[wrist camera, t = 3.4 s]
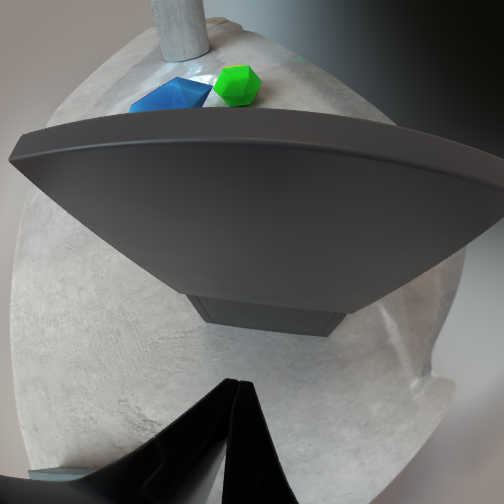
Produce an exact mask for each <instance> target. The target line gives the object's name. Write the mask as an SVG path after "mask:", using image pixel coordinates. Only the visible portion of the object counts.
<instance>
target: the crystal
mask: <svg viewBox="0 0 504 504" xmlns="http://www.w3.org/2000/svg"><path fill="white" fill-rule="evenodd" d="M212 87H213V86H211V85H208V84H204V83H200V82H196V81H192V80H188V79H183V78H179V77H176V78H174V79H172V80H171V81H169V82H167V83H166V84H164V85H162V86H161V87H159V88H157V89H156V90H154V91H152V92H151V93H149V94H148V95H146V96H145V97H143V98H142V99H140V100H139V101H137V102H136V103H134V104H133V105H131V107H130V110H129V113H133V112H142V111H153V110H165V109H180V108H202V106H203V104H204V102H205V100H206V99H207V97H208V95H209V93H210V91H211V89H212Z"/></svg>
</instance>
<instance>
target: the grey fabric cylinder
mask: <svg viewBox="0 0 504 504" xmlns="http://www.w3.org/2000/svg"><path fill="white" fill-rule="evenodd" d="M150 1H151V6H152V10H153V15H154V20H155V24H156V29H157V33H158V37H159V42H160V46H161V50H162V54H163V58H164V60H165V61H168V62H181V61H186V60H191V59H194V58H197V57H200V56H202V55H204V54H206V53H207V52H208V51H209V42H208V35H207V28H206V21H205V15H204V7H203V0H150Z"/></svg>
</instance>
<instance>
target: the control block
mask: <svg viewBox="0 0 504 504" xmlns="http://www.w3.org/2000/svg"><path fill="white" fill-rule="evenodd" d="M100 468H102V467H96V468H63V467H56V468H49V469H40V470H30V471H28V473H29V475H30V479H33V480H47V481H68V480H74V479H77V478H81V477H83V476H86V475H88V474H90V473H92V472H94V471H96V470H98V469H100Z"/></svg>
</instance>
